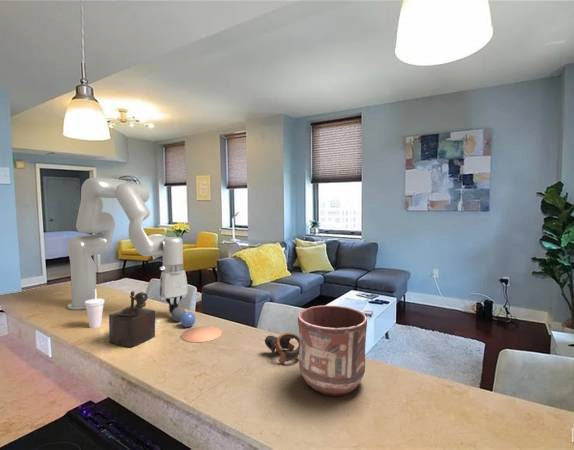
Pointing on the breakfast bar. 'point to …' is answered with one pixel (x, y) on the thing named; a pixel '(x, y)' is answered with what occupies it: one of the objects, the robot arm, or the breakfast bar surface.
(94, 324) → the smoothie
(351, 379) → the pottery
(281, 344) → the brown curved piece
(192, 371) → the breakfast bar surface
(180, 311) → the gray ball
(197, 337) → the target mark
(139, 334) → the brown coffee grinder
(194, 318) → the object ball
